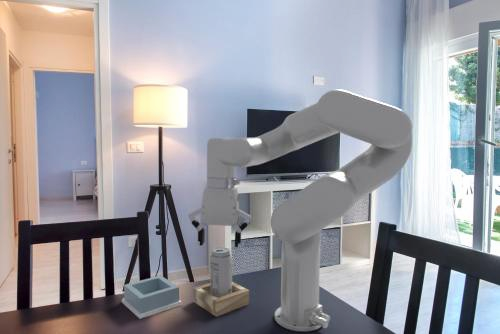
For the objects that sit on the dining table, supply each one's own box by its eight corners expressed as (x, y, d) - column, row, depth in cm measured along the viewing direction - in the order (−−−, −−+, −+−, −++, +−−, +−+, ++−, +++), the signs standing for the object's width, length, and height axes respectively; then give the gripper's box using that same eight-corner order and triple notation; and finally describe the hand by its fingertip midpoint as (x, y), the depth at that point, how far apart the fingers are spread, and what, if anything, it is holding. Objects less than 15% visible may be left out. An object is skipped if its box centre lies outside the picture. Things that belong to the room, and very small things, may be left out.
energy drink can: (234, 306, 98) (234, 252, 97) (212, 309, 96) (212, 254, 95) (229, 297, 103) (229, 246, 102) (208, 299, 102) (208, 248, 101)
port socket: (181, 304, 98) (181, 287, 98) (139, 318, 91) (139, 299, 90) (161, 290, 108) (161, 274, 107) (121, 302, 100) (121, 284, 99)
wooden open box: (249, 304, 99) (249, 290, 99) (216, 316, 92) (216, 301, 92) (225, 291, 107) (225, 278, 107) (193, 301, 100) (193, 287, 100)
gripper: (253, 182, 100) (251, 242, 102) (192, 180, 102) (191, 239, 103) (251, 186, 93) (249, 251, 94) (185, 184, 94) (184, 247, 96)
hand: (219, 245), depth 99 cm, fingers open, 9 cm apart
